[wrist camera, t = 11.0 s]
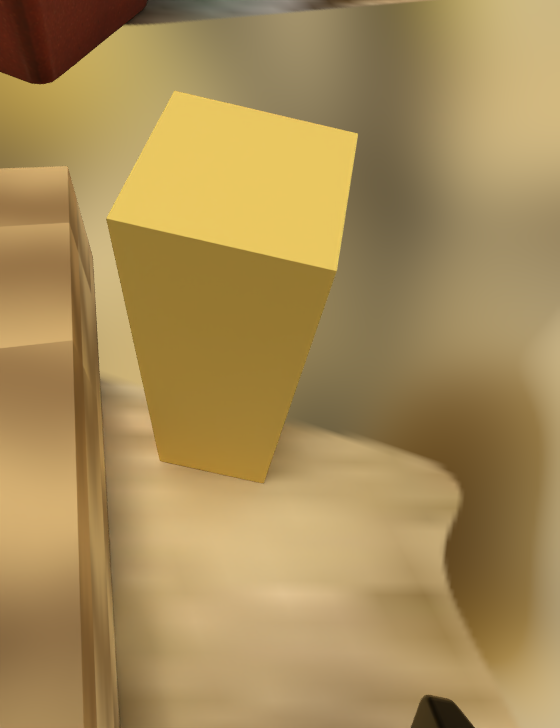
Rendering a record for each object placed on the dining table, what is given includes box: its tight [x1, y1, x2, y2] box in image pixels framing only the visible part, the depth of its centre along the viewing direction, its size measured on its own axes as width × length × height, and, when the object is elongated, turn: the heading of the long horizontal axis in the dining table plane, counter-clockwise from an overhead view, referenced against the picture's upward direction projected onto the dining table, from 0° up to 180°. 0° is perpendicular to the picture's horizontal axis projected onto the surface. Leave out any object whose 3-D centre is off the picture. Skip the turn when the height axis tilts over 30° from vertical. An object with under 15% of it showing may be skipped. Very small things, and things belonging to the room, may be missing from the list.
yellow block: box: [106, 91, 358, 483], centre depth 14 cm, size 4×4×12 cm
